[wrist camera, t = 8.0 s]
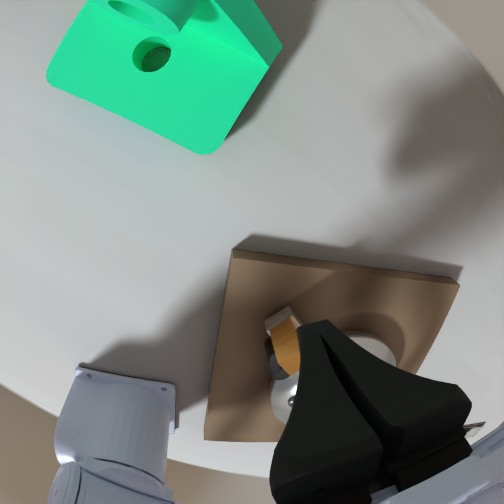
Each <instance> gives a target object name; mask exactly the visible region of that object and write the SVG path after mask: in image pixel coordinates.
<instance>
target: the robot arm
mask: <svg viewBox="0 0 504 504" xmlns="http://www.w3.org/2000/svg"><path fill="white" fill-rule="evenodd" d="M296 332H297V338H298V345H299V351H300V369H299V378H298V384H297V390H296V394H295V398H294V402H293V406H292V409H291V412H290V415H289V418H288V421H287V423H286V426H285V429H284V431H283V433H282V435H281V437H280V440H279V442H278V444H277V446H276V448H275V450H274V455H273V459H272V464H271V469H270V478H269V479H270V487H271V493H272V496H273V498H274V500H275V502H276V504H504V490H503V488H504V423H503V424H501V425H500V426H499V427H497V428H496V429H495V430H493V431H492V432H490V433H489V434H487V435H486V436H484V437H483V438H481V439H480V440H478V441H477V442H475V443H474V444H472V445H469V443H468V441H467V440H466V438H465V436H466V431H465V429H464V428H463V425H464V423H465V421H466V419H467V417H468V415H469V413H470V411H471V407H472V402H471V401H470V399H469V398H468V397H467V395H466V394H465V393H464V392H463V390H462V389H461V388H460V387H459V386H458V385H456V384H450V383H445V382H440V381H435V380H431V379H428V378H424V377H421V376H418V375H415V374H412V373H410V372H407V371H404V370H402V369H399V368H397V367H395V366H393V365H391V364H389V363H387V362H385V361H383V360H381V359H380V358H378V357H376V356H375V355H373V354H372V353H370V352H368V351H367V350H365V349H364V348H363V347H361V346H360V345H358V344H357V343H356V342H354V341H353V340H352V339H350V338H349V337H348V336H346V335H345V334H344V333H343V332H342V331H340V330H339V329H338V328H337V327H336V326H335V325H334V324H332V323H331V322H330V321H329V320H327V319H325V320H321V321H317V322H314V323H310V324H306V325H302V326H298V328H297V329H296ZM75 376H76V377H75V380H74V382H73V384H72V387H71V389H70V391H69V394H68V396H67V399H66V401H65V404H64V406H63V408H62V411H61V414H60V416H59V419H58V422H57V426H56V431H55V439H54V446H55V453H56V457H57V459H58V461H59V463H60V464H61V467H60V468H59V470H58V471H57V474H56V476H55V478H54V481H53V483H52V486H51V489H50V492H49V496H48V500H47V504H179V503H178V502H176V501H174V500H173V490H172V489H170V488H167V487H165V476H166V461H167V448H168V435H172V434H174V432H175V393H176V387H175V385H173V384H170V383H163V382H156V381H149V380H143V379H137V378H131V377H125V376H119V375H114V374H109V373H104V372H99V371H95V370H90V369H86V368H81V367H76V369H75ZM163 387H165V388H163Z"/></svg>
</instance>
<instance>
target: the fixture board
mask: <svg viewBox="0 0 504 504" xmlns="http://www.w3.org/2000/svg"><path fill="white" fill-rule="evenodd" d="M459 287H460V285H459V284H458V283H457V282H456V281H454V280H453V279H452V278H449V277H441V276H434V275H426V274H418V273H411V272H403V271H396V270H388V269H381V268H373V267H366V266H358V265H350V264H343V263H335V262H328V261H320V260H313V259H305V258H297V257H290V256H282V255H275V254H267V253H259V252H252V251H244V250H237V249H232V252H231V258H230V263H229V269H228V275H227V281H226V287H225V293H224V299H223V306H222V312H221V318H220V324H219V331H218V337H217V343H216V350H215V356H214V363H213V369H212V376H211V382H210V389H209V396H208V403H207V410H206V417H205V424H204V440H210V441H229V442H279V440H280V437H281V435H282V433H283V431H284V429H285V426H286V424H284V423H283V422H281V421H280V420H279V419H278V418H277V417H276V416H275V414H274V412H273V410H272V406H271V401H270V396H269V387H270V383H271V380H272V377H271V373H270V369H269V364H268V360H267V355H266V351H265V347H264V343H265V341H266V340H267V339H268V338H269V337H271V336H270V335H269V334H268V333H267V332H266V328H265V324H264V321H265V320H267V319H268V318H270V317H272V316H273V315H275V314H276V313H278V312H279V311H281V310H283V309H284V308H286V307H287V306H289V307H290V308H291V309H292V310H293V312H294V313H295V314H296V316H297V317H298V318H299V320H300V321H301V322H302V323H303V325H306V324H310V323H314V322H317V321H321V320H325V319H327V320H329V321H330V322H331V323H332V324H334V325H335V326H336V327H337V328H338V329H339V330H340V331H342V332H344V331H364V332H368V333H371V334H374V335H376V336H378V337H379V338H381V339H382V340H383V341H384V342H385V343H386V345H387V346H388V348H389V349H390V350H391V352H392V353H393V355H394V357H395V360H396V367H397V368H399V369H402V370H404V371H407V372H410V373H412V374H416V373H417V371H418V369H419V368H420V366H421V364H422V362H423V361H424V359H425V357H426V355H427V353H428V352H429V350H430V348H431V346H432V344H433V342H434V340H435V339H436V337H437V335H438V333H439V331H440V329H441V327H442V325H443V323H444V321H445V318H446V316H447V314H448V312H449V310H450V308H451V306H452V303H453V301H454V299H455V297H456V294H457V292H458V290H459Z"/></svg>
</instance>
